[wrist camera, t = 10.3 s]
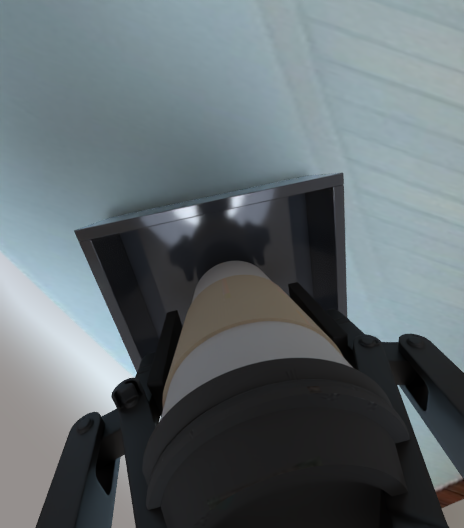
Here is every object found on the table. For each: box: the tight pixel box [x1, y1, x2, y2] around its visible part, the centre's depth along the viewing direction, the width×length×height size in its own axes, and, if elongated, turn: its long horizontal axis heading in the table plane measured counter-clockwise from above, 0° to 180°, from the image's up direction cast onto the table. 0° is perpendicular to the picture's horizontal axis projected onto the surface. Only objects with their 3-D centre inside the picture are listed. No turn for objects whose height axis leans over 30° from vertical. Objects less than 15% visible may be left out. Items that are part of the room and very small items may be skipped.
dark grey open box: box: [74, 173, 347, 371], centre depth 21 cm, size 17×19×6 cm
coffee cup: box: [142, 261, 410, 528], centre depth 13 cm, size 9×9×15 cm
